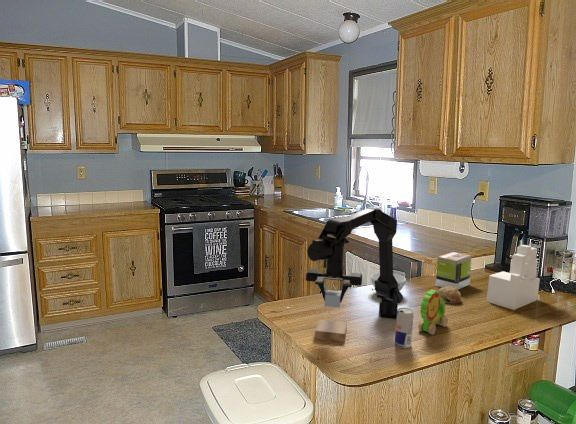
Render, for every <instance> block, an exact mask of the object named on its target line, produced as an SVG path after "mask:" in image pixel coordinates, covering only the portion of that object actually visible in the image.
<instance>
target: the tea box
mask: <svg viewBox="0 0 576 424" xmlns="http://www.w3.org/2000/svg"><path fill="white" fill-rule="evenodd" d="M436 259H437V260H436V273H435V274H436V275H435V276H436V278H435V286H436V287H438V288H444V287H446V286H452V287H454V288H456V289H457V290H458V291H459V290H460V289H463V288H464V287H467V286H469V285H471V284H470V282H471V270H472V255H471V254H465V253H459V252H454V251H451V252H449V253H445V254H442V255H438V256H437V258H436Z"/></svg>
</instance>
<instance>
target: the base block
mask: <svg viewBox="0 0 576 424" xmlns="http://www.w3.org/2000/svg"><path fill="white" fill-rule="evenodd" d="M347 330H348V322H346V321H339V320H337V321H335V320H328V319H318V321H317V324H316V327H315V331H314V340H318V341H328V342H336V343H337V342H339V343H345V342H346V338H347V337H346V335H347Z"/></svg>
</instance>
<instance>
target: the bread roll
mask: <svg viewBox="0 0 576 424" xmlns="http://www.w3.org/2000/svg"><path fill="white" fill-rule="evenodd" d="M437 292H439V293H440V296H441V299H443V300H444V302H445V304H455V305H457V304H460V303H461V301H462V300H461V299H462V295H461V292H460V291H459V289H458V290H457V289H456V288H454V287H452V286H446V287H444V288H441V287H439V289H437Z"/></svg>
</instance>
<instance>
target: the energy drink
mask: <svg viewBox="0 0 576 424" xmlns="http://www.w3.org/2000/svg"><path fill="white" fill-rule="evenodd" d="M414 314H415V313H414V311H413V309H411V308H407V307H398V309H397V316H396V318H395V330H394V331H395V333H394V345H395V346H396V347H398V348H399V349H400V348H401V349H409V348H411V347H412V342H413V341H412V340H413V327H414Z"/></svg>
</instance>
